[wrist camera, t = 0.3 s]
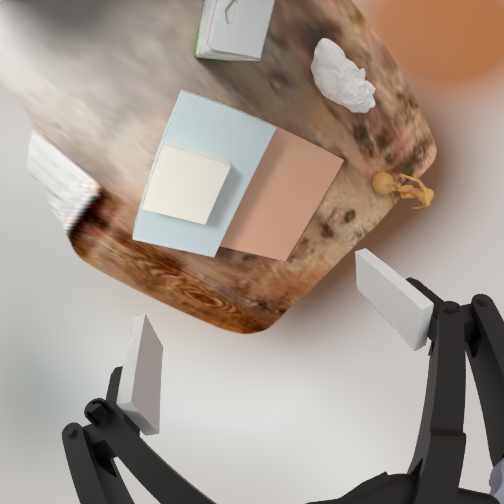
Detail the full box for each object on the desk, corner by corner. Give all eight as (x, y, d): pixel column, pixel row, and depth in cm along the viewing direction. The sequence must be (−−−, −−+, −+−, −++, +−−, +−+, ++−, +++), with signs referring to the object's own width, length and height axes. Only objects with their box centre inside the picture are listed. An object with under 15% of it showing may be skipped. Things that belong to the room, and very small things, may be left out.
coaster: (163, 139, 30) (163, 144, 28) (226, 159, 34) (231, 166, 32) (143, 199, 34) (142, 209, 32) (202, 215, 37) (205, 224, 35)
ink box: (205, -3, 24) (223, -32, 15) (246, 4, 25) (281, -19, 16) (192, 58, 29) (203, 52, 19) (233, 63, 30) (262, 62, 21)
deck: (181, 88, 31) (183, 91, 27) (266, 121, 36) (276, 127, 33) (134, 224, 40) (132, 239, 36) (209, 241, 45) (214, 257, 42)
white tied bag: (296, 43, 32) (283, 73, 27) (343, 22, 27) (345, 44, 22) (340, 105, 39) (337, 149, 34) (384, 90, 34) (393, 132, 29)
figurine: (358, 169, 44) (405, 203, 35) (383, 147, 43) (433, 176, 34) (376, 200, 49) (418, 236, 40) (398, 180, 48) (443, 212, 39)
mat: (266, 121, 36) (267, 122, 36) (342, 159, 42) (344, 160, 42) (209, 241, 45) (210, 244, 45) (284, 259, 51) (285, 261, 51)
